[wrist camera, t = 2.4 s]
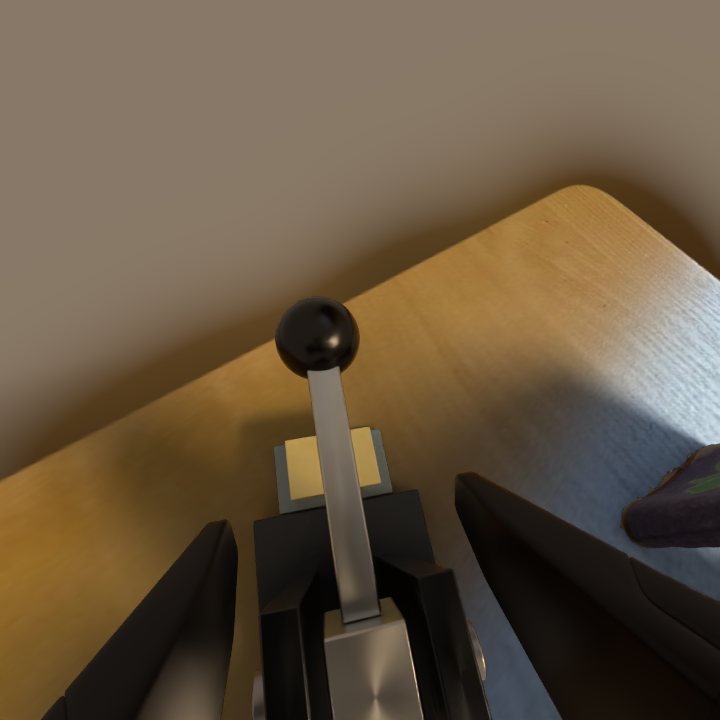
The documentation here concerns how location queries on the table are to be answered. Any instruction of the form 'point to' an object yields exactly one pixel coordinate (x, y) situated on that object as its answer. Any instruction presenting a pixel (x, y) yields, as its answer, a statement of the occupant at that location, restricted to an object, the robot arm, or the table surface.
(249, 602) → the table surface
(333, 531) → the lever handle
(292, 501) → the butter dish
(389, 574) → the slicer
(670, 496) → the flask
